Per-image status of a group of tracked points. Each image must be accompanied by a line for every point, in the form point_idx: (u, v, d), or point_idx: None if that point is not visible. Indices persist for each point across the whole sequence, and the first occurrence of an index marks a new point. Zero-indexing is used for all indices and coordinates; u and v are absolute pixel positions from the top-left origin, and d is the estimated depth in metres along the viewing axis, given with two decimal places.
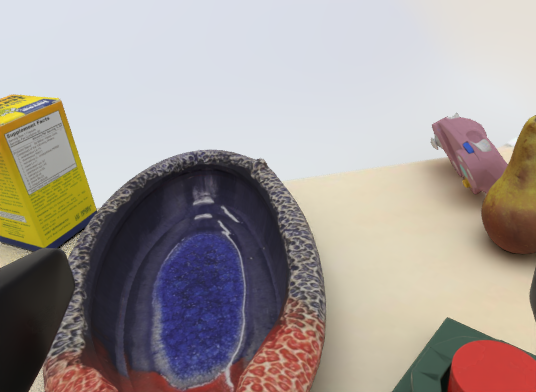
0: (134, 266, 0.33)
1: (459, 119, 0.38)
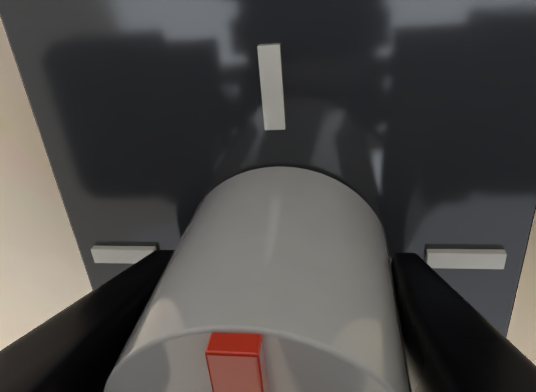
0: None
1: None
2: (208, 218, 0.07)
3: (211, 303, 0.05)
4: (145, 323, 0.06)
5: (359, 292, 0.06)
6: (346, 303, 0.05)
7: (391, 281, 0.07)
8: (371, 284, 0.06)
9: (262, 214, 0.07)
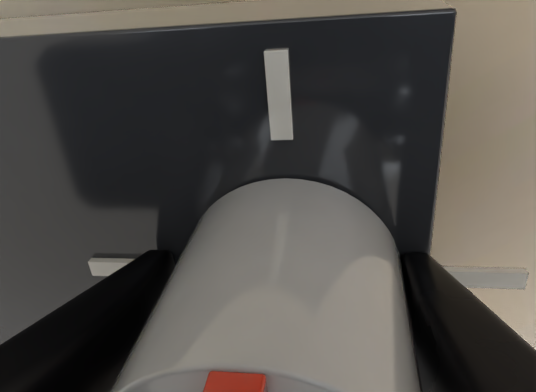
0: None
1: None
2: (210, 235, 0.07)
3: (209, 335, 0.05)
4: (139, 354, 0.05)
5: (371, 322, 0.05)
6: (359, 336, 0.05)
7: (405, 304, 0.07)
8: (384, 310, 0.06)
9: (267, 232, 0.06)
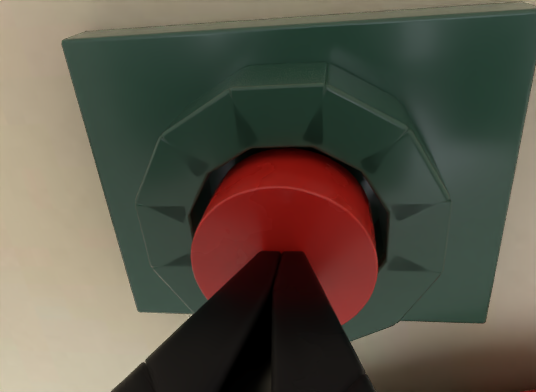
0: None
1: None
2: None
3: None
4: None
5: None
6: None
7: None
8: None
9: None
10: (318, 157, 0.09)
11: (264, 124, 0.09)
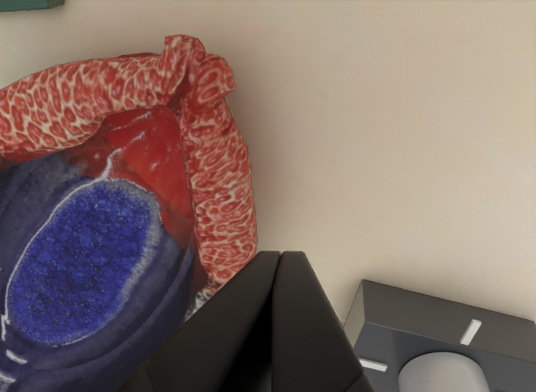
0: (119, 351, 0.27)
1: None
2: None
3: None
4: None
5: None
6: None
7: (448, 379, 0.20)
8: None
9: None
10: None
11: None
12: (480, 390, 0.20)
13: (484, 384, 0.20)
